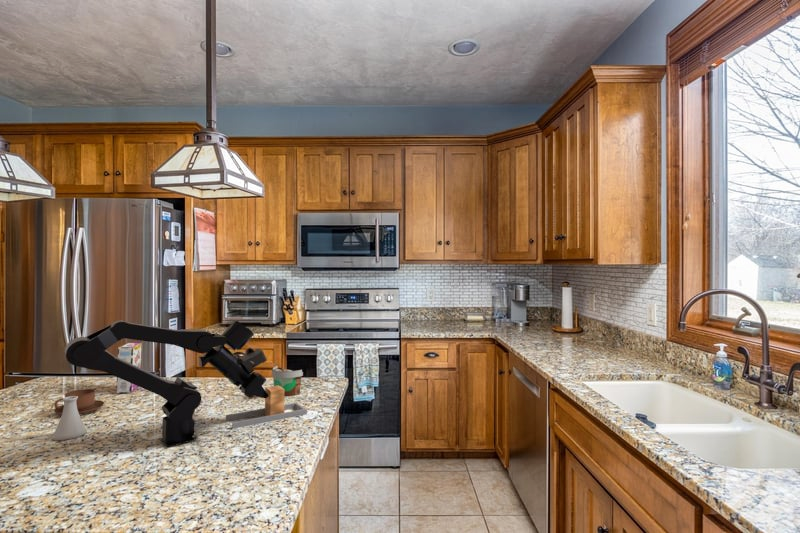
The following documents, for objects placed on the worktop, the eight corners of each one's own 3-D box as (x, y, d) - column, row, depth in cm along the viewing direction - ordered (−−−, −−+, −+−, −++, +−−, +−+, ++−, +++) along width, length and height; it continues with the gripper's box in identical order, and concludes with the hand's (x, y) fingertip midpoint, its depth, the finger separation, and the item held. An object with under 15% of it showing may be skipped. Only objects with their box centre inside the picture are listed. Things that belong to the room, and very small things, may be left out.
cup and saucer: (72, 421, 120) (72, 399, 120) (44, 416, 124) (45, 395, 124) (113, 408, 132) (113, 389, 132) (86, 404, 136) (87, 385, 136)
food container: (262, 398, 144) (263, 369, 144) (275, 393, 149) (276, 365, 149) (290, 403, 138) (290, 373, 138) (302, 398, 143) (303, 369, 144)
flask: (45, 442, 105) (46, 402, 105) (60, 432, 112) (61, 394, 112) (79, 439, 107) (79, 400, 107) (91, 429, 114) (92, 392, 114)
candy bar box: (132, 393, 148) (133, 347, 148) (115, 394, 146) (116, 347, 147) (141, 385, 158) (142, 342, 159) (126, 386, 157) (127, 342, 157)
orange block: (270, 419, 119) (270, 391, 119) (264, 414, 123) (265, 387, 123) (284, 416, 121) (284, 389, 121) (278, 412, 125) (278, 385, 125)
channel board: (233, 434, 111) (233, 423, 111) (225, 424, 118) (225, 414, 119) (307, 419, 123) (307, 409, 123) (296, 411, 131) (296, 402, 131)
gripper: (258, 345, 110) (298, 381, 117) (239, 336, 126) (275, 368, 132) (227, 379, 106) (269, 414, 112) (211, 366, 121) (250, 397, 127)
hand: (266, 396), depth 121 cm, fingers closed, pressing on orange block
